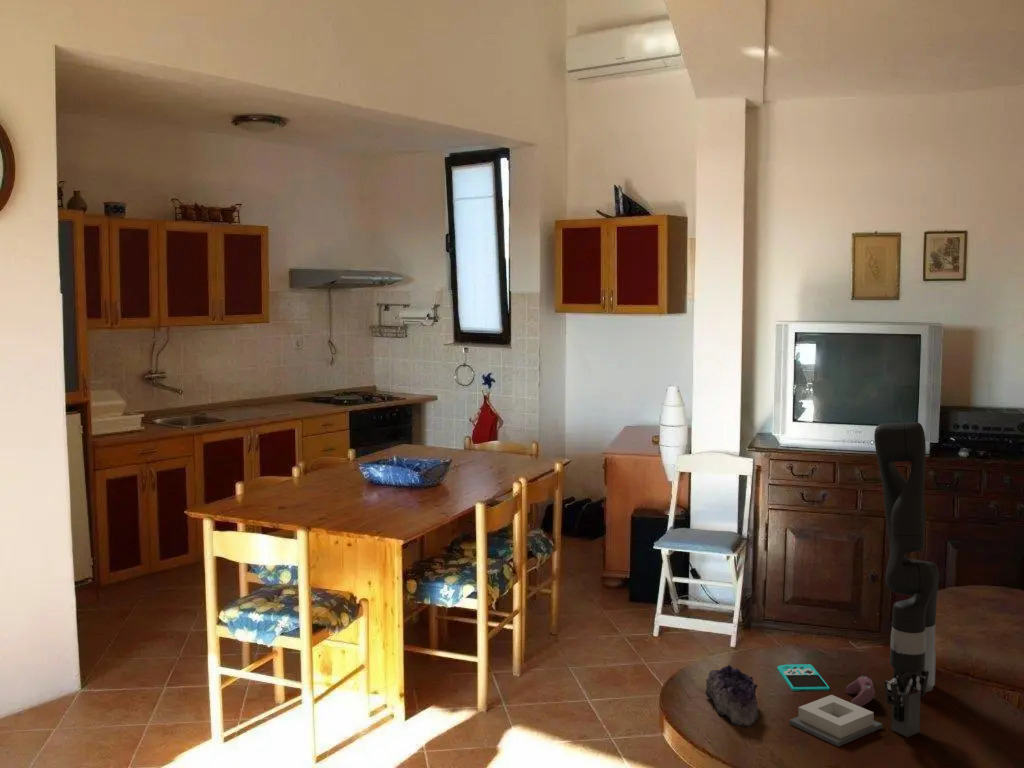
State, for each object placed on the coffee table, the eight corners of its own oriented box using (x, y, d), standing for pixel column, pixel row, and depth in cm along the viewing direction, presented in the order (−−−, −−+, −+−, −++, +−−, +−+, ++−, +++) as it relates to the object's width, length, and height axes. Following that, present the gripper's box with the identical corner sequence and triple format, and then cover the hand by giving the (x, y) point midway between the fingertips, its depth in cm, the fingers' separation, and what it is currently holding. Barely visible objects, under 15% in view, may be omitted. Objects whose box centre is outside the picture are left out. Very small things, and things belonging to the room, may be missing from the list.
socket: (833, 706, 241) (833, 691, 241) (882, 728, 230) (882, 711, 229) (789, 723, 233) (789, 707, 232) (838, 746, 221) (838, 729, 220)
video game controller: (866, 715, 240) (880, 692, 239) (849, 706, 240) (863, 682, 239) (859, 698, 250) (873, 676, 248) (843, 690, 250) (856, 667, 249)
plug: (902, 725, 231) (903, 684, 230) (919, 732, 227) (920, 690, 226) (891, 730, 229) (892, 689, 228) (907, 737, 225) (909, 695, 224)
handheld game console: (811, 668, 267) (812, 663, 267) (831, 692, 251) (831, 687, 251) (775, 668, 267) (775, 663, 267) (792, 693, 251) (792, 688, 251)
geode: (776, 727, 232) (771, 687, 230) (728, 736, 231) (724, 696, 229) (746, 688, 252) (742, 652, 250) (703, 696, 251) (698, 660, 249)
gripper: (912, 635, 233) (909, 704, 235) (874, 648, 225) (872, 719, 227) (941, 645, 227) (938, 715, 229) (903, 659, 219) (901, 731, 221)
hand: (905, 717), depth 228 cm, fingers open, 4 cm apart
